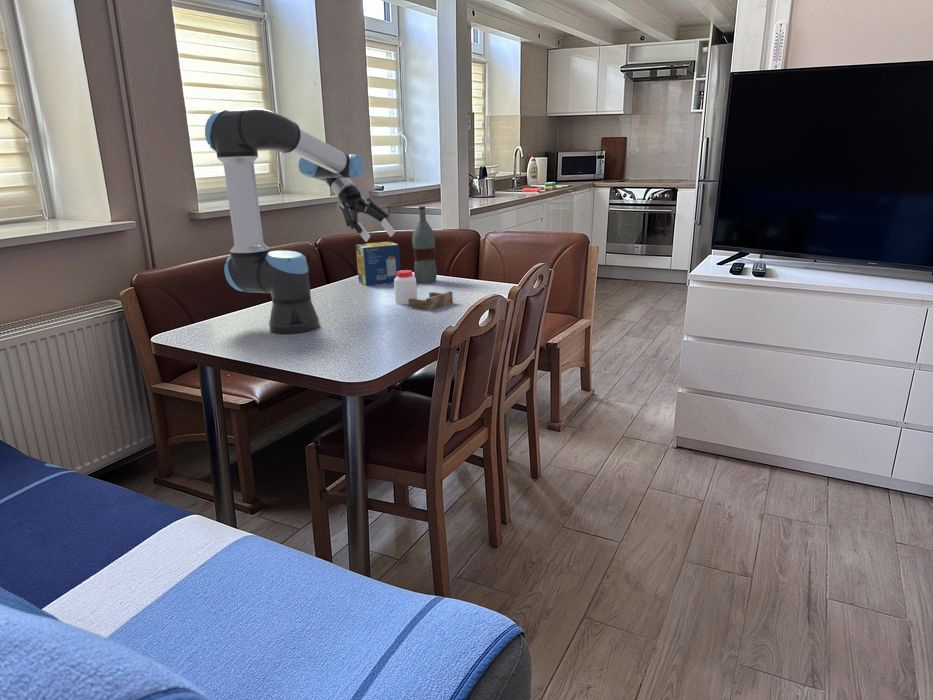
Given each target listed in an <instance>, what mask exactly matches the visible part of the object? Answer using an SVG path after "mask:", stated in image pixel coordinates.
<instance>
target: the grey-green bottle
mask: <svg viewBox="0 0 933 700" xmlns="http://www.w3.org/2000/svg"><path fill="white" fill-rule="evenodd" d="M418 212H419V213H418V216H419V218H418V219H419V221H418V223H417V225H416V226H415V228H414V230H413V233H412V242H411V243H412V247H413V256H414V268H413V269H414V272H413V274H414V275H413V276H414V277H415V278H416V282H417V283H416V284H419V283H423V284H422V285H426V284H425V283H430V284H434V283H436V281H437V275H438V273H437V272H438V271H437V265H436V259H435V258H436V257H435V255H436V253H435V252H436V238H435V237H436V236H435V233H434V230H433V228H432V227H431V226H430V224H429V222H428V221H427V215H426V206H418ZM433 282H434V283H433Z"/></svg>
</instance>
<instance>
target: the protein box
mask: <svg viewBox="0 0 933 700" xmlns="http://www.w3.org/2000/svg"><path fill="white" fill-rule="evenodd" d="M355 251H356V254H355V255H356V264H357V276H358V282H359V283H360V282H361V284H363V285H364V286H365V287H368V286H367V285H369V286H376V285H375V284H378V285H385V284H384V283H386V284H392V282H394V279H395V277H396V276H397V271H401V259H400V245H399V244H398V243H395V242H393V241H381V242H370V243H362V244H361V243H360V244H355Z"/></svg>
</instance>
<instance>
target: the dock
mask: <svg viewBox="0 0 933 700" xmlns="http://www.w3.org/2000/svg"><path fill="white" fill-rule="evenodd" d="M428 296H429V297H428V298H425V299H419V298H417V299H409V304H408V308H409V307H412V308H411V309H415V308H418V309H417V310H422V309H425V310H424V311H427V310H431V311H433V310H436V309H439V308H442V307H445V306H448V305H451V304H453V303H454V300H453V291H450V290H449V291H447V292H444V293H441V292H433V291H432V292H431V291H430V292H428ZM450 303H451V304H450ZM447 304H448V305H447ZM444 305H445V306H444ZM441 306H442V307H441ZM438 307H439V308H438ZM435 308H436V309H435ZM432 309H433V310H432Z"/></svg>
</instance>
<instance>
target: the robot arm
mask: <svg viewBox="0 0 933 700" xmlns="http://www.w3.org/2000/svg"><path fill="white" fill-rule="evenodd" d="M204 135H205V141H206V143H207V144H208V145H209V147H210V149H211V150H212V151H215V152H216V158H217V160H218V161H220V162H221V163H222V165H223V170H224V176H225V177H224V178H225V185H226V191H227V199H228V205H229V206H228V207H229V214H230V220H231V221H230V222H231V228H232V229H231V230H232V236H233V244H234V245H233V247H231V249H230V250H229V254H230V256H228V257H227V259H225V260H226V261H225V262H226V263H224V270H223V271H224V275H225V276H224V277H225V279H226V282H227V283H228V284H229V285H230V286H231V287H232V288H233V289H234V290H237V291H239V292H245V293H249V294H250V293H255V294H256V293H258V294H259V293H261V294H271V302H272V307H271V312H270V318H269V322H268V325H269V330H271V332H272V331H274V332H273V333H275V332H277V334H297V333H303V332H308V331H312V330H315V329H317V328H318V327H319V326H320V324H321V323H320V319H319V316H318V314H317V312H316V309H315V306H314V305H313V302H312V296H311V285H310V277H309V276H310V274H309V266H308V262H307V258H306V256H305V254H303V253H301V252H299V251H294V250H282V249H281V250H273V251H270V247H269V246H268V245H266V244H265V243H264V235H263V228H262V222H261V221H262V220H261V213H260V205H259V203H260V202H259V195H258V188H257V181H256V179H257V178H256V173H255V172H256V171H255V170H256V169H255V162H256V160H258V158H259V153H258V151H266V150H267V151H268V150H269V151H270V150H271V151H278V152H279V153H283V154H289V153H290V154H293V155H295V156H297V157H299V160H298V166H297V167H298V170H299V172H300V173H301V175H303V176H305V177H308V178H312V179H316V180H319V181H324V182H326V185H328V186H329V188H330V190H332V192H333V193H334V194H335V197H337V198H338V200H339V201H340V205H339V208H340V210H341V212H342V214H343V218H344V221H345V225H346V227H350V229H351V230H354V229H355V231H356V232H357V234H359V235H360V236H361V238H362V240H364V242H366V243H367V242H368V241H369V239H370V238H371V235H370V234H369V231H368V230H366V227H364V226H363V224H362V223H361V221H359V222H358V214H359V213H363V214H365V215H369V216H370V217H371V218H374V219H375V220H377V221H378V222H380V223H379V224H380V225H381V226H382V228H383V229H384V230H385V231H386V233H387V235H388V236H389V237H390V238H391V237H393V236H394V234H395V233H396V231H395V229H394V228H393V227H392V225H391V223H390V222H389V221H388V217H389V216H390V215H389V214H388V213H387V212H386V211H384V210H383V209H382V208H381V207H379V206H378V205H377V204H376V203H374V202H373V201H372V199H371V198H369V197H368V198H367V199H366V200H365V199H364V198H362V195H361V191H360V190H359V189H358V188H357V186H356V185H355V183H354V182H353V181H352V179H353V178H359V177H362V175H363V174H364V171H365V169H364V168H365V162H364V160H363V158H362V157H361V156H360V155H359V154H353V153H352V154H348V153H345V152H343V151H341V150H339V149H338V148H336V147H334V146H332V145H330V144H328V143H327V142H325V141H322V140H321V139H319V138H317V137H315V136H313V134H310V133H308V132H306V131H304V130H303V129H301V127H300V126H299V125H298V123H296V122H295V121H294V120H291V119H290V118H288V117H285V116H284V115H281V114H279V113H276V112H274V111H271V110H268V109H265V108H262V107H261V108H260V107H250V108H232V109H231V108H227V109H223V110H218V111H215V112H213V113H212V114H211V115H209V117H208V118H207V120H206V123H205V127H204Z"/></svg>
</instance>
